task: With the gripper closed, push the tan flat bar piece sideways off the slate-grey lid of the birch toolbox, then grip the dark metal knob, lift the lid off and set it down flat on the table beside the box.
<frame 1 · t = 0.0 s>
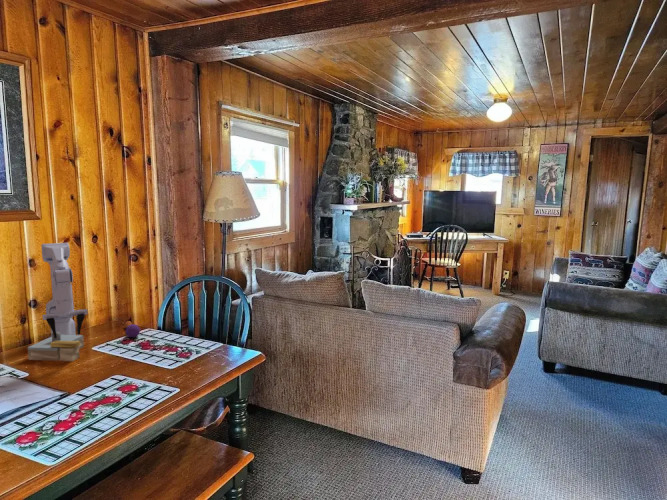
hand: (67, 335, 165), 11 cm above the table, tool pointing down, fingers open, 7 cm apart
tan flat bar piece: (65, 344, 169), point 6 cm above the table, slide at 0.0 cm
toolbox: (57, 352, 176), on the table
kendama: (131, 333, 203), on the table
lid: (56, 345, 176), point 3 cm above the table, touching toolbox
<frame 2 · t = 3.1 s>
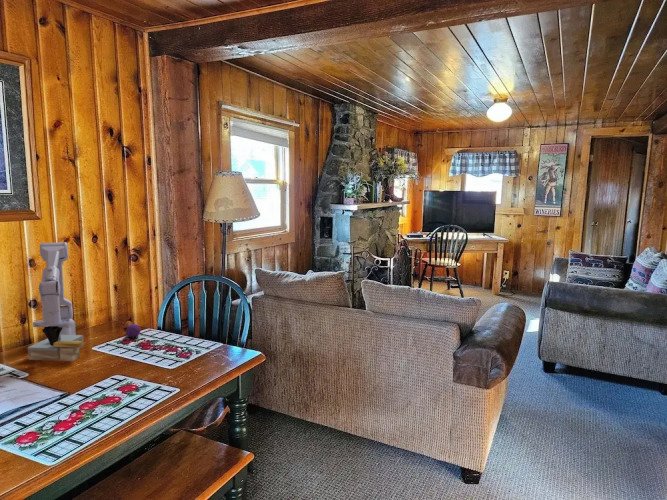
hand: (53, 344, 169), 6 cm above the table, tool pointing down, fingers closed
tan flat bar piece: (68, 344, 169), point 6 cm above the table, slide at 1.3 cm, touching gripper
everything else where it was.
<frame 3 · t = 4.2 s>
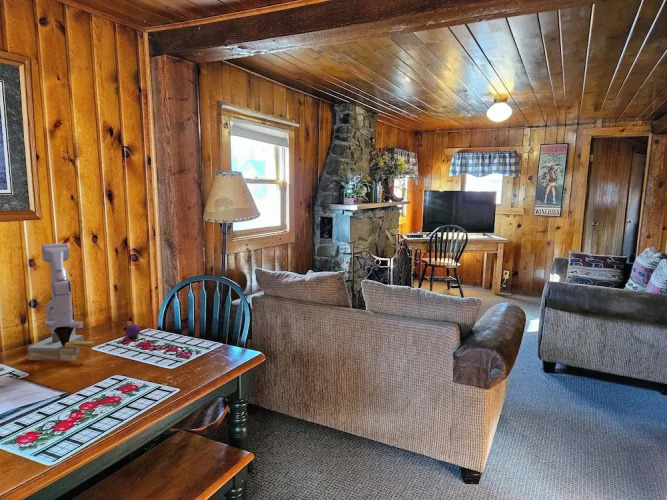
hand: (65, 345, 169), 6 cm above the table, tool pointing down, fingers closed
tan flat bar piece: (79, 344, 169), point 6 cm above the table, slide at 6.0 cm, touching gripper
everything else where it was.
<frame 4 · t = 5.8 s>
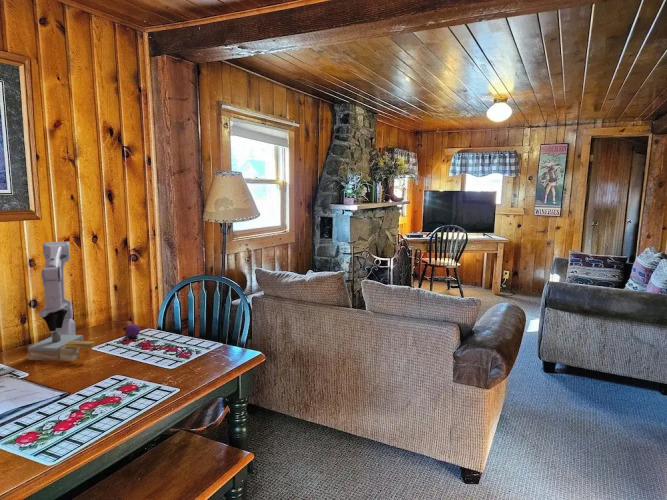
hand: (55, 329, 175), 10 cm above the table, tool pointing down, fingers open, 3 cm apart
tan flat bar piece: (80, 344, 169), point 6 cm above the table, slide at 6.0 cm
everything else where it was.
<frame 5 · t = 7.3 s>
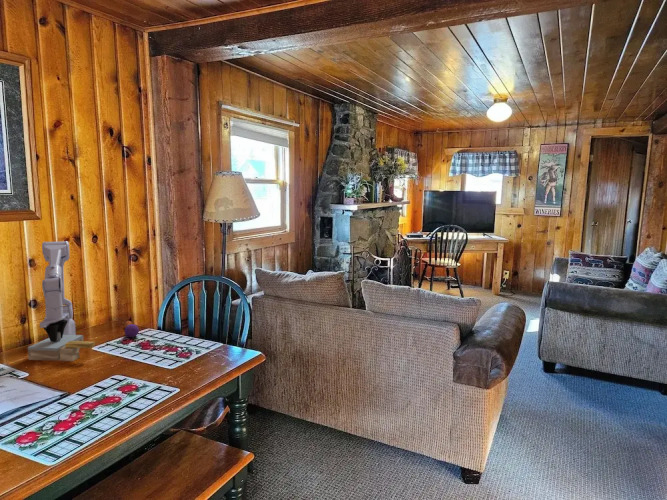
hand: (56, 339, 176), 6 cm above the table, tool pointing down, fingers closed on lid, 3 cm apart
lid: (56, 345, 176), point 3 cm above the table, touching gripper, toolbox
everything else where it was.
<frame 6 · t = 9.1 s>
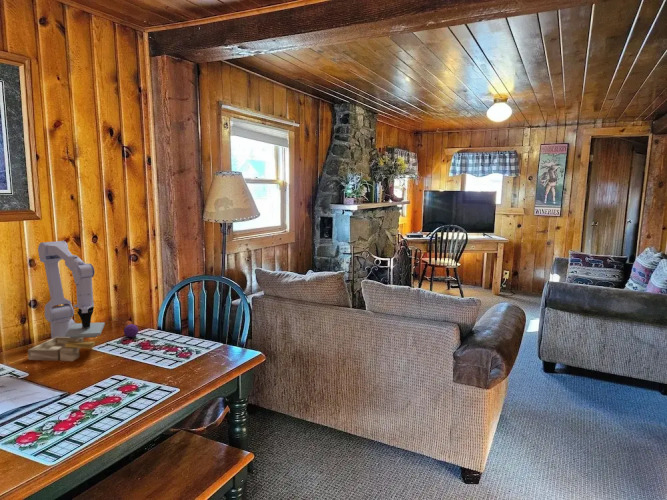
hand: (86, 326, 178), 10 cm above the table, tool pointing down, fingers closed on lid, 3 cm apart
lid: (86, 332, 178), point 8 cm above the table, touching gripper
everything else where it was.
when the fingers open (4 cm above the table, at t = 11.2 s): lid drops 2 cm, on the table.
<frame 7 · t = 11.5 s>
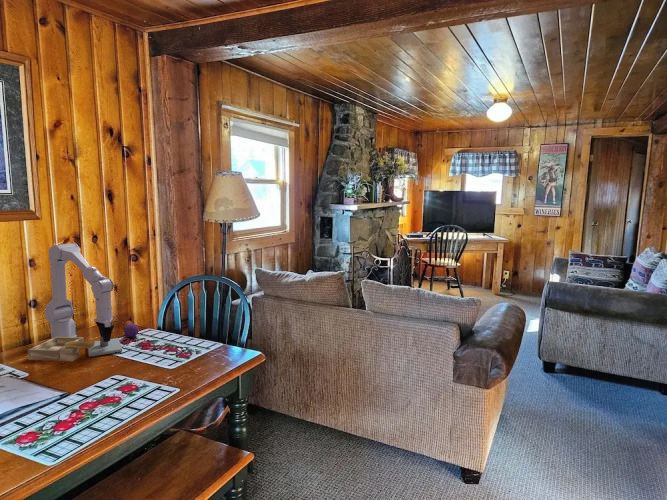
hand: (105, 339, 181), 4 cm above the table, tool pointing down, fingers open, 5 cm apart
lid: (104, 350, 181), on the table
everything else where it was.
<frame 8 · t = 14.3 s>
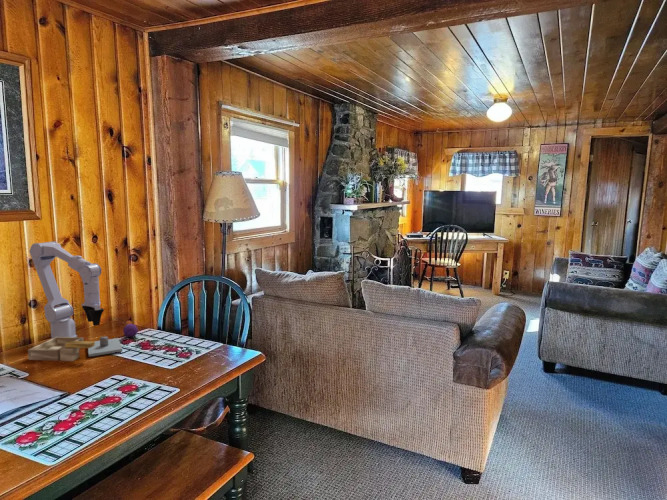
hand: (93, 323, 185), 9 cm above the table, tool pointing down, fingers open, 7 cm apart
at the end: tan flat bar piece slide at 6.0 cm; lid inside the target area (0.6 cm from its centre), on the table; lid tilted 0° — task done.
